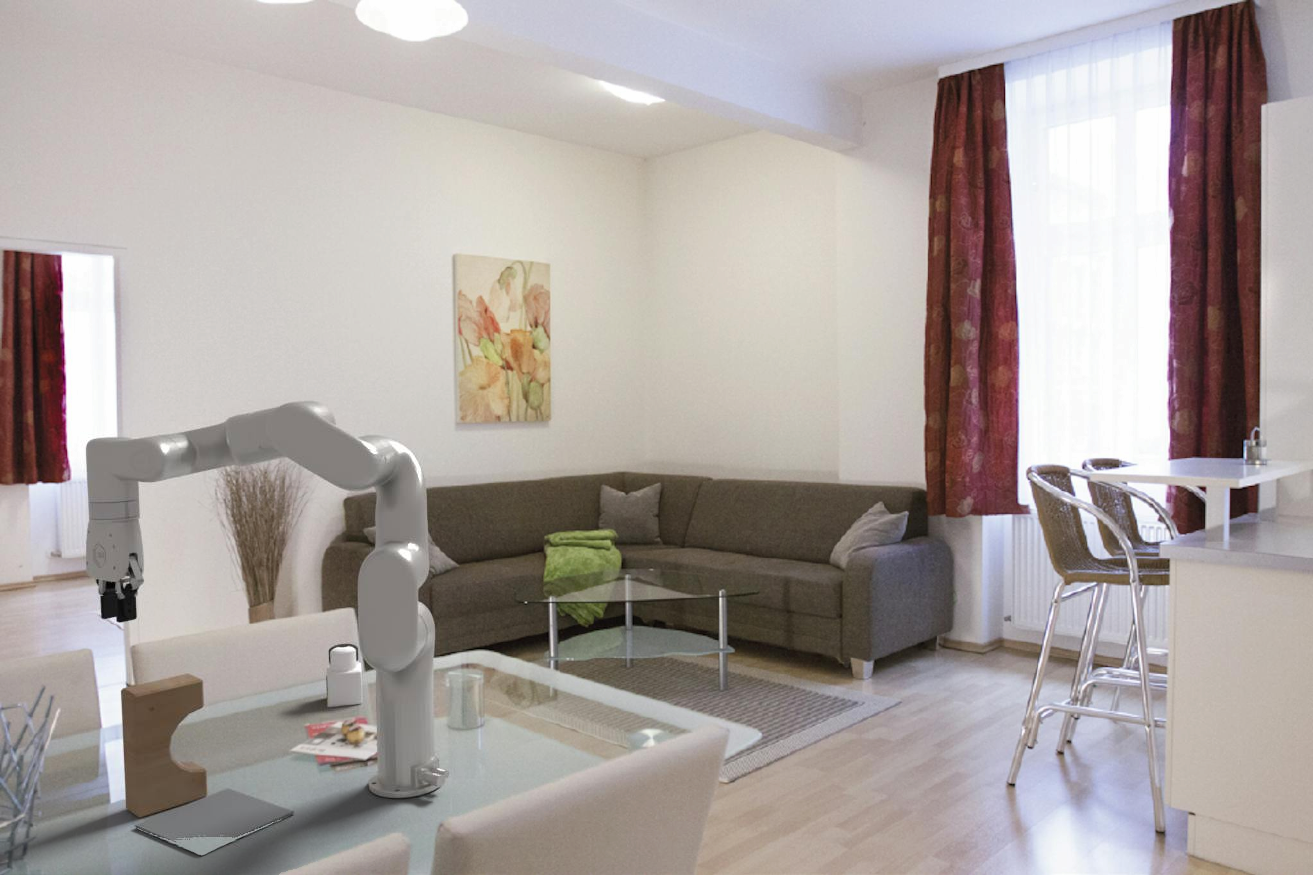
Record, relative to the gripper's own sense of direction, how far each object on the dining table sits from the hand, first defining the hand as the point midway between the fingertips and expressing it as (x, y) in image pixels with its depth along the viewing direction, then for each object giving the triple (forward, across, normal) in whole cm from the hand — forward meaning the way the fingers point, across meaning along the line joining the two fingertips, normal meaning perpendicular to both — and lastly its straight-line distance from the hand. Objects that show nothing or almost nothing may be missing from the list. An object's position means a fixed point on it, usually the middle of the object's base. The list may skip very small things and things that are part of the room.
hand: (119, 617), depth 167 cm
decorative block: (+29, +12, 0) cm, 32 cm away
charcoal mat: (+29, +25, 0) cm, 38 cm away
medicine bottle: (+29, -4, +50) cm, 58 cm away
